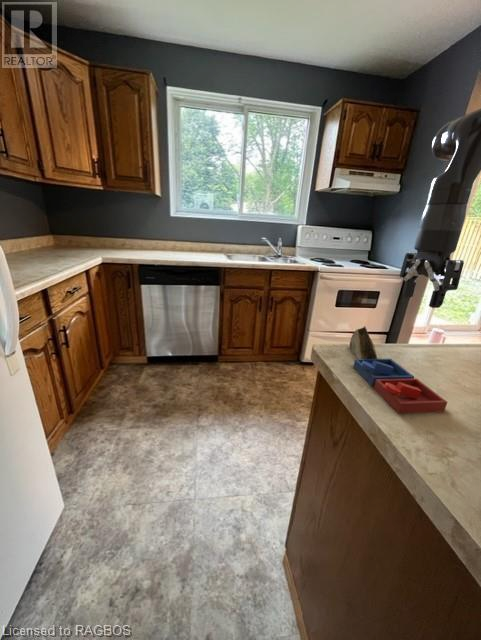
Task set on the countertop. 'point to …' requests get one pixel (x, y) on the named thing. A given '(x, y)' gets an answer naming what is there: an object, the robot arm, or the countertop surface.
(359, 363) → the blue tray
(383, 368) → the blue spoon
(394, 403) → the red tray
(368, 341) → the rock
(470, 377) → the countertop surface
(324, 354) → the countertop surface
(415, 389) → the red spoon
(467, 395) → the countertop surface
